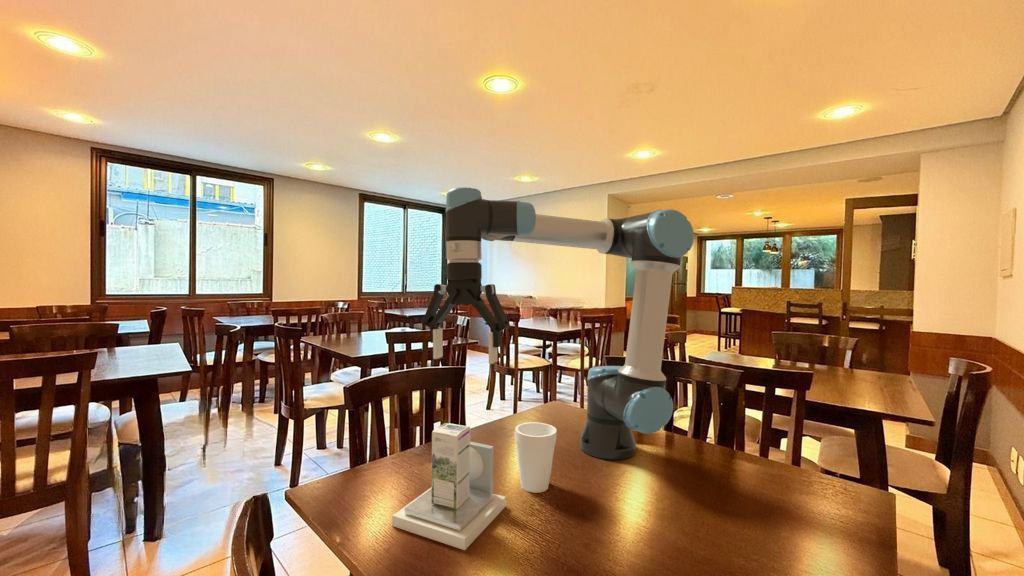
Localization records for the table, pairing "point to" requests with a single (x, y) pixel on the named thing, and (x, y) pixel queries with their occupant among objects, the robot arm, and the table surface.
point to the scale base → (462, 539)
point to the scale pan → (449, 509)
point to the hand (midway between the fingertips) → (464, 360)
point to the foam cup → (535, 454)
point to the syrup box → (450, 465)
